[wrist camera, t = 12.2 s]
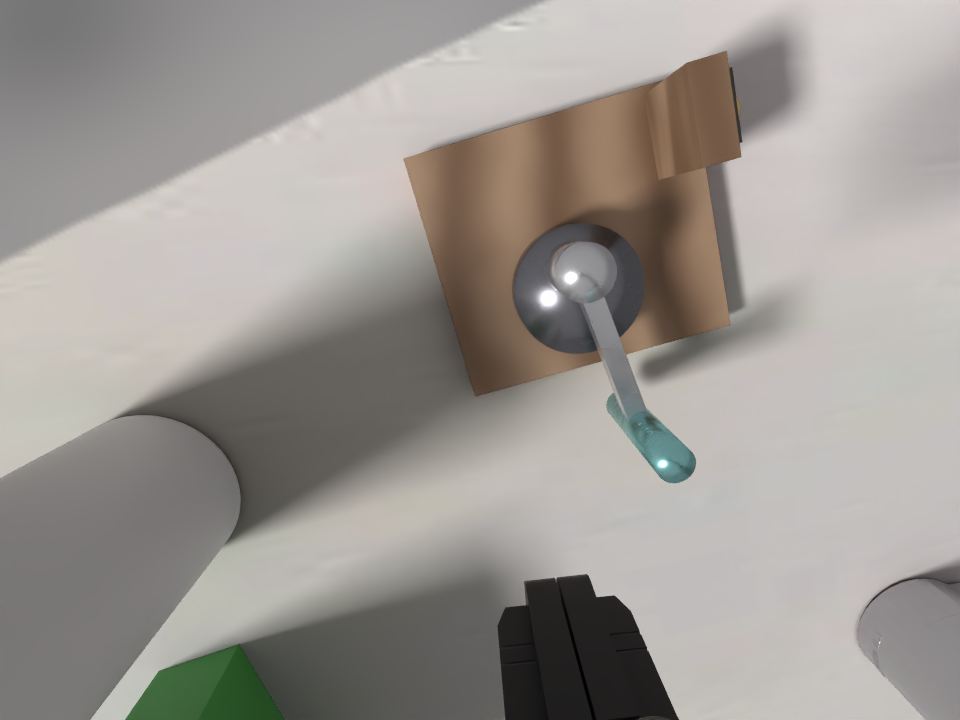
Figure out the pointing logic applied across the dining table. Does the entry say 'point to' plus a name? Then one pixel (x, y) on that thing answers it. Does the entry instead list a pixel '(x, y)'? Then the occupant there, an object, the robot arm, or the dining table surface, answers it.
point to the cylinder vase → (102, 557)
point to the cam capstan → (596, 323)
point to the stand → (584, 213)
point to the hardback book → (207, 691)
